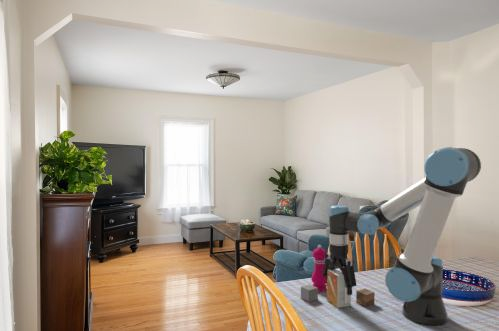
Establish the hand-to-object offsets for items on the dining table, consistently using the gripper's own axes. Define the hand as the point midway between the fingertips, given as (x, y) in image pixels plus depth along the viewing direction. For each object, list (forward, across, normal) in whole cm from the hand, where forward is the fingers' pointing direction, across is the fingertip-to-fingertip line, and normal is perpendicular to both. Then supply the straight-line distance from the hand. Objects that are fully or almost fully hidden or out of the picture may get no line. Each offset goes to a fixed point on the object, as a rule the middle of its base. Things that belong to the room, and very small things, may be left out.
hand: (338, 298), depth 148 cm
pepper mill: (+2, +16, -5) cm, 17 cm away
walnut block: (+2, -6, -9) cm, 11 cm away
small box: (+2, 0, 0) cm, 2 cm away
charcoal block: (+2, +10, +7) cm, 12 cm away
